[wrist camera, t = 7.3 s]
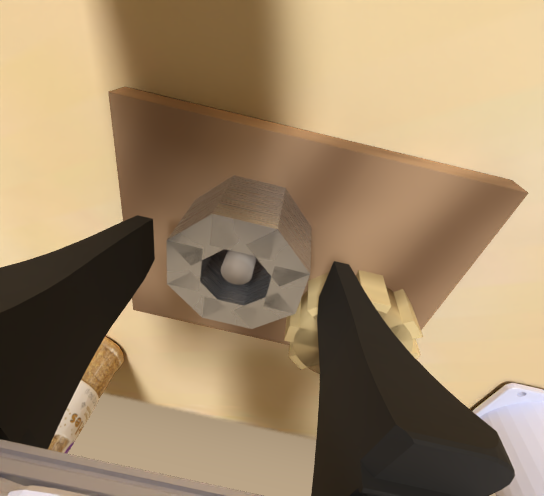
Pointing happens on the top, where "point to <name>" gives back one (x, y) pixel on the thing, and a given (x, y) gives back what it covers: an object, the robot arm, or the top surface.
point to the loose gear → (245, 239)
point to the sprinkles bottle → (87, 394)
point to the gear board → (308, 211)
